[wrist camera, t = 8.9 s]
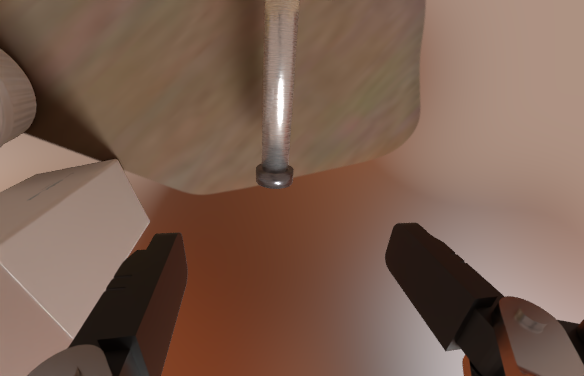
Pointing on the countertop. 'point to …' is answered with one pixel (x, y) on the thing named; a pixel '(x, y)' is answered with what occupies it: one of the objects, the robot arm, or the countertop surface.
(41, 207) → the tall white carton
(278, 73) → the shaft
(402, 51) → the countertop surface
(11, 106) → the ramekin
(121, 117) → the countertop surface
